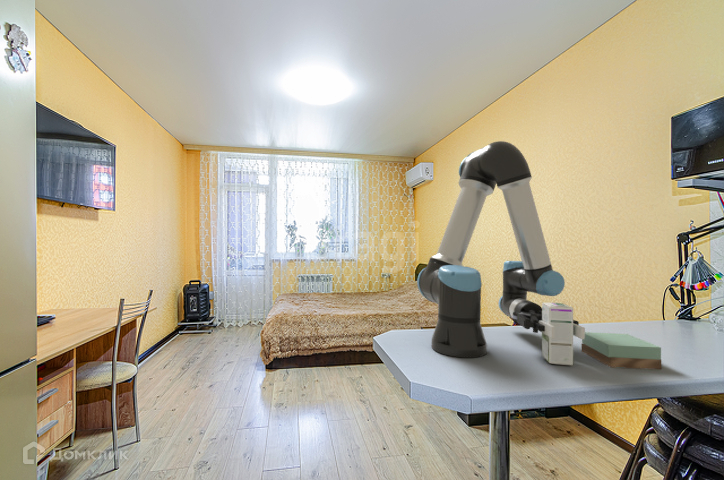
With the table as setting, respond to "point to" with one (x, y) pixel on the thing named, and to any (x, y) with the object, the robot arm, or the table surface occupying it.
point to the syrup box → (558, 333)
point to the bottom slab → (621, 360)
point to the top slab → (622, 346)
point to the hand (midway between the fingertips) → (568, 332)
